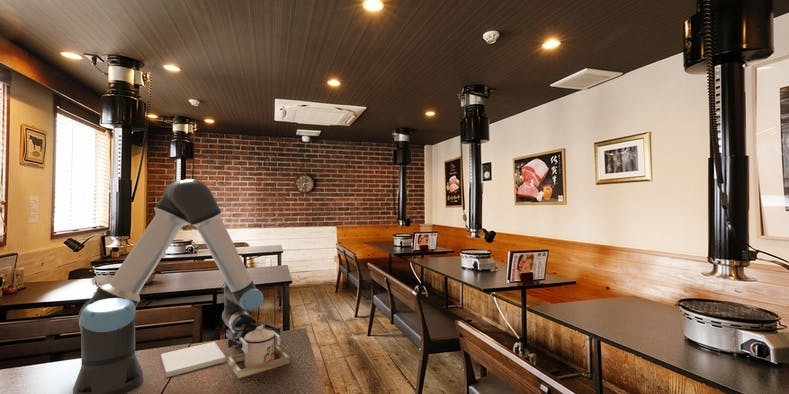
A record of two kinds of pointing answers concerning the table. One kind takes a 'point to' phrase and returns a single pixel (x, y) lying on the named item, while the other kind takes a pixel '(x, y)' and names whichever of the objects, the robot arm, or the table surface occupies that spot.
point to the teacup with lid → (259, 347)
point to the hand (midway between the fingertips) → (263, 344)
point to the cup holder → (257, 368)
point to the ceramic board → (191, 358)
